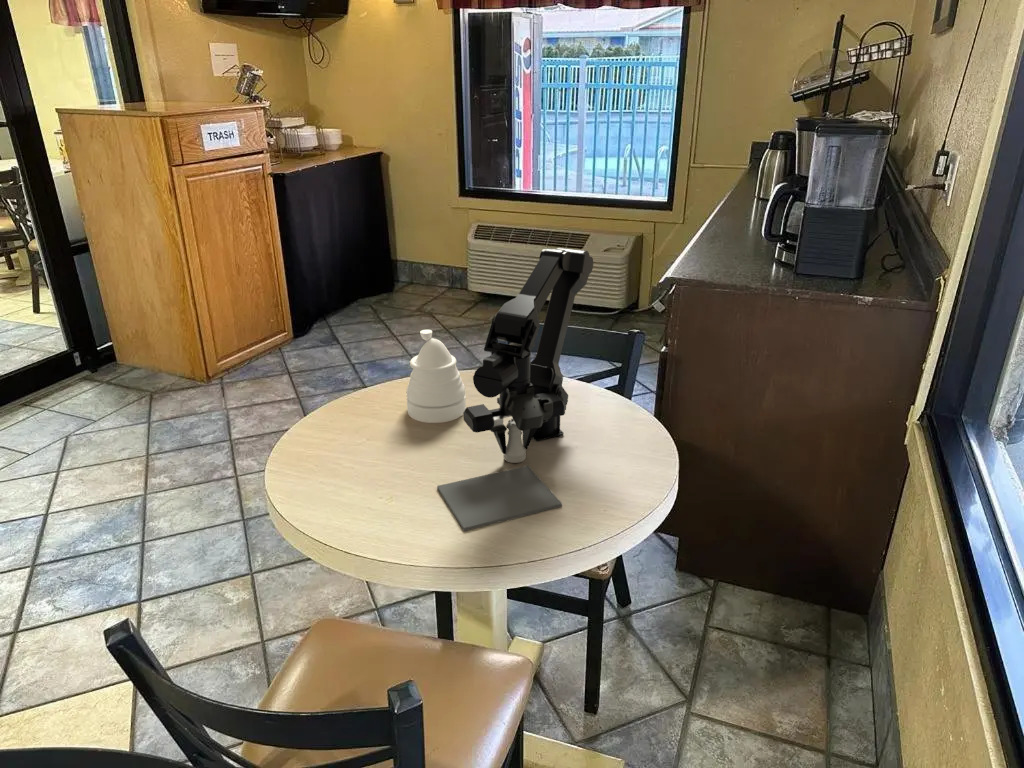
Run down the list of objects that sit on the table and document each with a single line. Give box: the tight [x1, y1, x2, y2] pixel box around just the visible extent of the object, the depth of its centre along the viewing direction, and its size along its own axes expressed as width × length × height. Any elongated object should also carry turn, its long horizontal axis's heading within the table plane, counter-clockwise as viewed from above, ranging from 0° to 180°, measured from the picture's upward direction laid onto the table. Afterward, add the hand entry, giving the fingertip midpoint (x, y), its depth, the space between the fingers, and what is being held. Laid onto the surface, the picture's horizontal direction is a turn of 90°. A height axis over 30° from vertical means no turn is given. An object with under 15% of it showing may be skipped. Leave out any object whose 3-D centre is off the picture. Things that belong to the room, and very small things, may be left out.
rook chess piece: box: [503, 418, 527, 464], centre depth 137 cm, size 4×4×8 cm
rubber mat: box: [437, 465, 563, 532], centre depth 126 cm, size 18×14×1 cm
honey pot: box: [406, 329, 467, 424], centre depth 155 cm, size 13×13×18 cm
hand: (514, 450), depth 138 cm, fingers closed on rook chess piece, 4 cm apart
